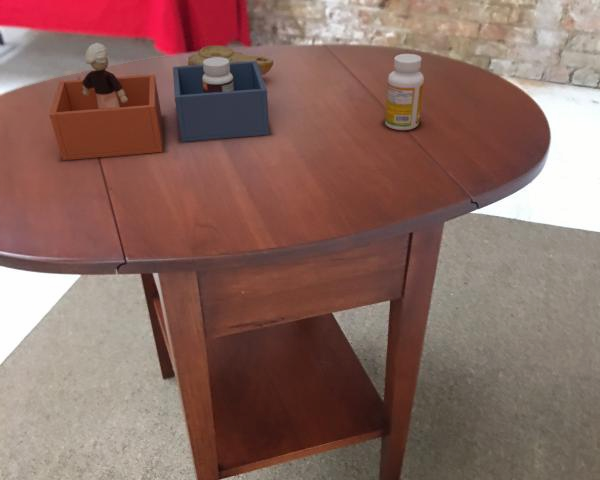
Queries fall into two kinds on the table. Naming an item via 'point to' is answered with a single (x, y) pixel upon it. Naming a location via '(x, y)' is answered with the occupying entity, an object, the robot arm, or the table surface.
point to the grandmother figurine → (102, 79)
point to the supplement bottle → (404, 93)
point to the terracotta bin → (107, 120)
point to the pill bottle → (217, 75)
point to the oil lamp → (229, 57)
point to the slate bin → (221, 104)
